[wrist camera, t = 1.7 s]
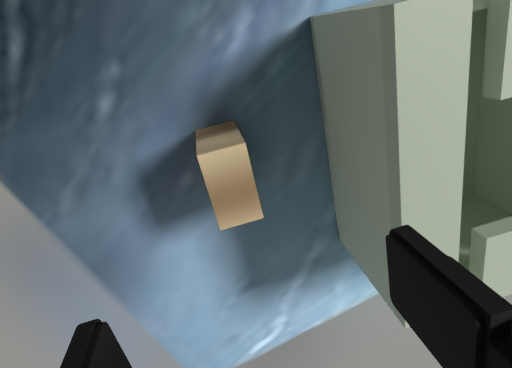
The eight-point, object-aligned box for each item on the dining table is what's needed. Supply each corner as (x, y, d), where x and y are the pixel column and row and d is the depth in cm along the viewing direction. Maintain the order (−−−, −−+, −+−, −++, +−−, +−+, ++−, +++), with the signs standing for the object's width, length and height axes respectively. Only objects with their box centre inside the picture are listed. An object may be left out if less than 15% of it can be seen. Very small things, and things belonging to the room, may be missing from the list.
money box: (309, 17, 20) (394, 4, 12) (496, -29, 21) (697, -71, 12) (339, 238, 27) (405, 328, 18) (478, 197, 27) (600, 265, 19)
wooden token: (195, 130, 21) (196, 155, 17) (233, 120, 21) (245, 142, 17) (214, 192, 23) (220, 230, 19) (249, 182, 23) (263, 218, 19)
